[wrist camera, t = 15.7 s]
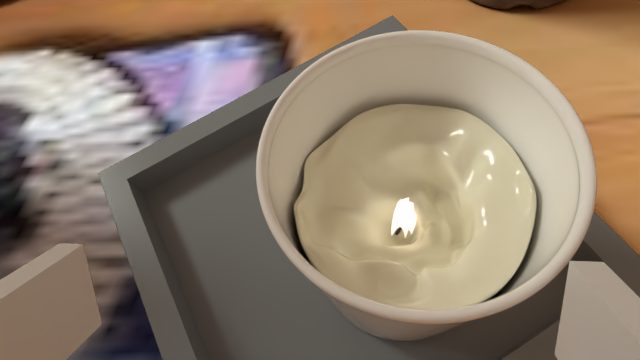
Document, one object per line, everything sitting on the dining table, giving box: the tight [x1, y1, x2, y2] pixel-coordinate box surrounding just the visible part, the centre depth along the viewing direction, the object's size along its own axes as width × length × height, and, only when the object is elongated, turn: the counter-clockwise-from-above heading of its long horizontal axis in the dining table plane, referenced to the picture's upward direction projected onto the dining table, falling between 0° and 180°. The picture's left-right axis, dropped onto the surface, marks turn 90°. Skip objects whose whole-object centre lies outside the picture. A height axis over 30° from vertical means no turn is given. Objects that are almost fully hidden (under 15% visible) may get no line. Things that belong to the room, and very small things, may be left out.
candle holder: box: [256, 30, 597, 341], centre depth 18 cm, size 10×10×12 cm
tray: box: [98, 15, 640, 360], centre depth 24 cm, size 22×22×3 cm
